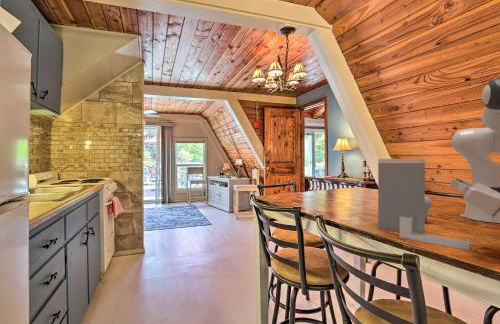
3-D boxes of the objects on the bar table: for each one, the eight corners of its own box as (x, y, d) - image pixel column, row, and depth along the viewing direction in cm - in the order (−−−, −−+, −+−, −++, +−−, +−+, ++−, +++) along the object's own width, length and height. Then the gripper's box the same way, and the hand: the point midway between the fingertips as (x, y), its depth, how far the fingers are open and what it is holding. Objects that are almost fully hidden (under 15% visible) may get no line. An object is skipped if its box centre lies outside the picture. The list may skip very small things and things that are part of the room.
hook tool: (402, 238, 92) (402, 215, 92) (470, 251, 80) (470, 224, 80) (399, 240, 90) (399, 216, 90) (469, 254, 78) (469, 226, 77)
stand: (387, 223, 110) (387, 158, 110) (424, 229, 101) (424, 158, 101) (378, 227, 103) (378, 158, 103) (417, 234, 94) (417, 158, 94)
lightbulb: (434, 224, 108) (434, 196, 108) (417, 223, 110) (417, 196, 109) (428, 220, 114) (428, 194, 114) (411, 220, 115) (412, 194, 115)
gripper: (516, 195, 79) (464, 170, 88) (517, 203, 65) (454, 173, 73) (501, 212, 82) (452, 186, 90) (499, 224, 67) (440, 192, 75)
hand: (453, 180), depth 81 cm, fingers open, 5 cm apart
